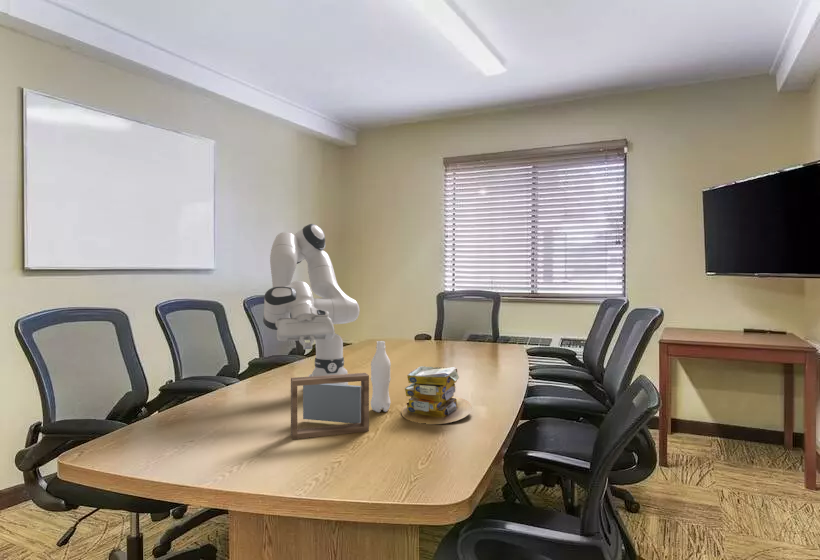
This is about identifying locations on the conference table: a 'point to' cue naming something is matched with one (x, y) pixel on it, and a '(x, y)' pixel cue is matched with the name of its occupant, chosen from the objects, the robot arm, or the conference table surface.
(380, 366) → the water bottle
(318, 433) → the brown wooden frame
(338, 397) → the door
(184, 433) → the conference table surface
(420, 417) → the yellow stacked packages
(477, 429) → the conference table surface
